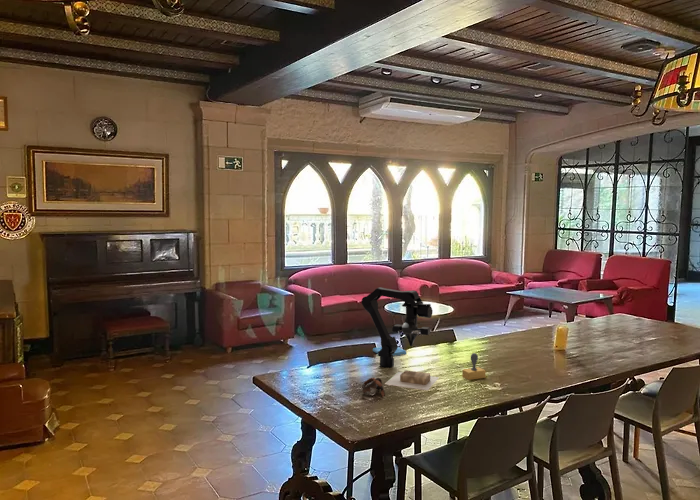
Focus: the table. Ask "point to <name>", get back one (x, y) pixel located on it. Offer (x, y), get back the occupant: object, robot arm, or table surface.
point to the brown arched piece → (373, 385)
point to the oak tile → (415, 377)
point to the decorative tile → (397, 352)
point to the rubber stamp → (473, 370)
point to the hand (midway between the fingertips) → (411, 346)
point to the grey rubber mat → (396, 381)
